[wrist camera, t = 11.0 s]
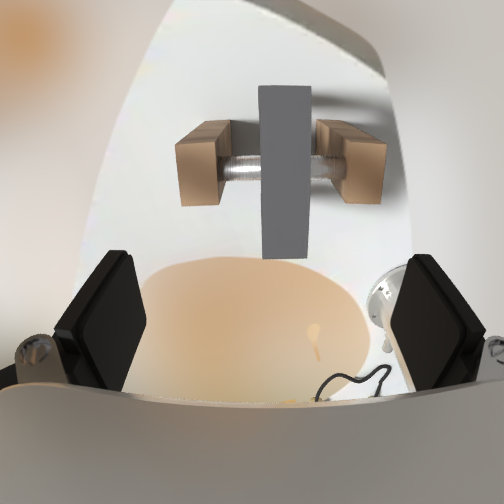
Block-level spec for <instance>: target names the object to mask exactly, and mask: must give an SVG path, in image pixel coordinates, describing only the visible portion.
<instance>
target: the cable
mask: <svg viewBox="0 0 504 504" xmlns="http://www.w3.org/2000/svg"><path fill="white" fill-rule="evenodd" d="M382 368H387V372H386V373H385V375H384V376H383V377H382V378H381V380H380V381H379V385H378V387H377V390H376V393H375V395H374V396H370V397H368V398H373V397H377V396H378V394H379V391H380V388H381V385H382V382H383V381H384V380H385V379H386V377H387V376H388V375H389V373H390V371H391V367H390V366H389V365H380V366H378V367H377V368H376V369H375V370H373V371H372V372H371V373H370V374H369V375H368V376H367V377H365V378H363V379H361V380H357V379H354V378H352V377H350V376H348V375H346V374H343V373H336V374H334V375H332V376H330V377H329V378H328V379H327V380H326V381H325V382H324V383H323V384H322V385H321V387H320V388H319V390H318V392H317V394H316V397H313V398H311V399H310V401H309V402H323V400H322V399H321V398H319V396H320V393H321V392H322V390H323V388H324V387H325V386H326V384H327V383H328V382H330V381H331V380H332V379H333V378H335V377H344V378H346V379H348V380H350V381H352V382H355V383H362V382H365V381H367V380H368V379H369V378H371V377H372V376H373V375H374V374H375V373H376V372H377V371H379V370H380V369H382Z"/></svg>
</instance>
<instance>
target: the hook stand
mask: <svg viewBox="0 0 504 504" xmlns="http://www.w3.org/2000/svg"><path fill="white" fill-rule="evenodd" d="M386 148H387V144H385V143H383V142H381V141H380V140H378V139H376V138H374V137H372V136H370V135H368V134H367V133H365V132H363V131H361V130H359V129H357V128H355V127H353V126H351V125H349V124H347V123H345V122H343V121H340V120H319V119H316V155H311V180H330V181H331V182H332V184H333V185H334V187H335V188H336V190H337V191H338V193H339V194H340V195H341V197H342V198H343V200H344V201H345V203H346V204H380V203H381V195H382V187H383V179H384V169H385V159H386ZM175 152H176V162H177V171H178V180H179V189H180V198H181V206H203V205H219V203H220V200H221V196H222V193H223V190H224V186H225V183H226V181H247V180H261V164H260V155H248V156H232V144H231V123H230V120H219V121H205V122H203V123H202V124H201V125H199V126H198V127H197V128H195V129H194V130H193V131H192V132H190V133H189V134H188V135H186V136H185V137H184V138H183V139H181V140H180V141H179V142H178V143H176V144H175Z"/></svg>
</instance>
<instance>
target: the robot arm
mask: <svg viewBox="0 0 504 504" xmlns="http://www.w3.org/2000/svg"><path fill="white" fill-rule="evenodd" d="M367 312H368V315H369V317H370V319H371V321H372V322H373V323H374V324H375V325H377V326H379V327H381V328H384V330H385V332H386V333H385V337H386V340H385V341H384V344H383V347H382V350H383V351H384V352H386V353H390V352H392V350H393V351H394V353H395V356H396V358H397V361H398V363H399V366H400V369H401V371H402V374H403V377H404V379H405V382H406V385H407V388H408V390H409V393H405V394H398V395H390V396H382V397H373V398H363V399H352V400H339V401H324V402H302V403H238V402H215V401H199V400H185V399H175V398H165V397H156V396H147V395H140V394H132V393H125V392H121V391H122V388H123V385H124V382H125V379H126V377H127V374H128V371H129V368H130V366H131V363H132V360H133V358H134V355H135V352H136V350H137V347H138V345H139V342H140V339H141V337H142V334H143V331H144V329H145V326H146V314H145V310H144V306H143V302H142V298H141V293H140V289H139V285H138V280H137V276H136V271H135V267H134V262H133V258H132V256H131V255H128V253H127V252H126V251H125V250H109V251H108V252H107V254H106V255H105V256H104V258H103V259H102V260H101V262H100V263H99V264H98V266H97V267H96V268H95V270H94V271H93V272H92V274H91V275H90V276H89V278H88V279H87V281H86V282H85V283H84V285H83V286H82V288H81V289H80V290H79V292H78V293H77V295H76V296H75V298H74V299H73V300H72V302H71V303H70V305H69V307H68V308H67V309H66V311H65V312H64V314H63V315H62V317H61V318H60V320H59V321H58V323H57V324H56V326H55V328H54V330H55V333H54V334H53V336H52V337H51V336H49V335H46V334H36V335H33V336H30V337H29V338H27V339H26V340H24V341H23V342H22V343H21V344H20V345H19V347H18V348H17V350H16V352H15V364H12V365H10V366H8V367H6V368H4V369H2V370H0V504H504V338H503V337H500V336H492V337H489V338H488V339H486V340H485V339H484V337H483V335H484V333H485V332H486V329H485V328H484V326H483V325H482V323H481V322H480V320H479V319H478V317H477V316H476V314H475V313H474V312H473V310H472V309H471V307H470V306H469V304H468V303H467V302H466V301H465V299H464V297H463V296H462V295H461V293H460V292H459V291H458V289H457V288H456V287H455V285H454V284H453V283H452V282H451V280H450V279H449V278H448V276H447V275H446V274H445V272H444V271H443V270H442V268H441V267H440V266H439V265H438V263H437V262H436V261H435V260H434V258H433V257H432V256H431V255H429V254H415V255H414V256H413V257H412V258H410V259H409V260H408V263H407V265H405V266H401V267H398V268H395V269H394V270H392V271H390V272H388V273H387V274H385V275H384V276H383V277H382V278H381V279H379V280H378V281H377V283H376V284H375V285H374V286H373V288H372V290H371V291H370V293H369V296H368V299H367Z"/></svg>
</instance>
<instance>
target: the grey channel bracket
mask: <svg viewBox="0 0 504 504" xmlns="http://www.w3.org/2000/svg"><path fill="white" fill-rule="evenodd" d="M258 104H259V124H260V164H261V224H262V258H263V259H303V258H307V252H308V233H309V210H310V180H311V86H281V85H272V86H258Z"/></svg>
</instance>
